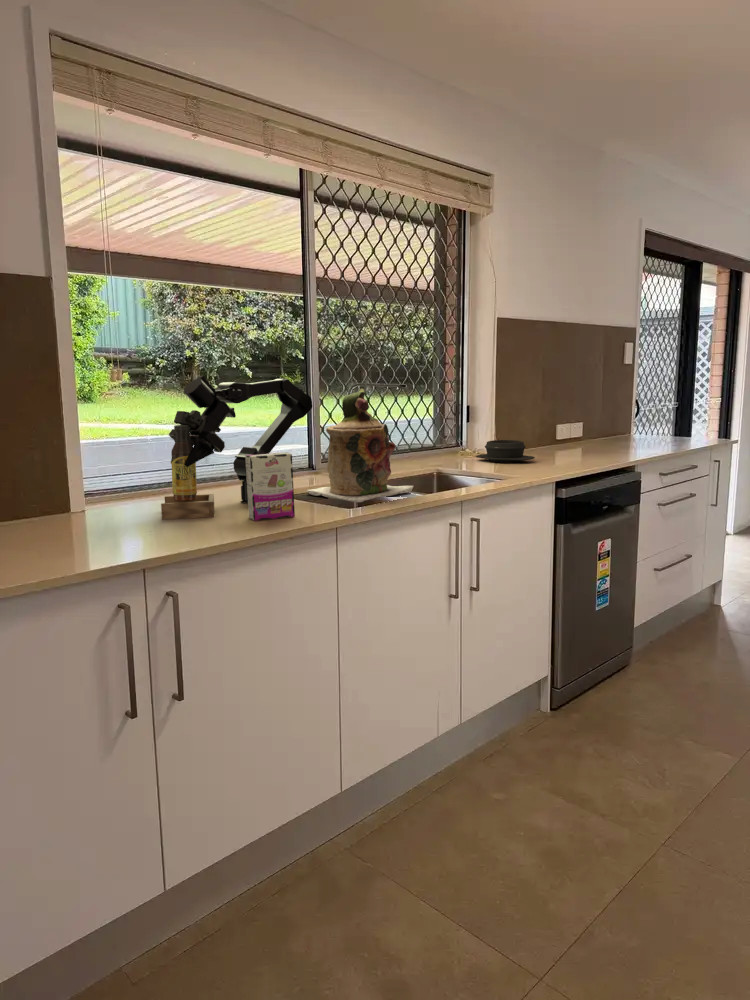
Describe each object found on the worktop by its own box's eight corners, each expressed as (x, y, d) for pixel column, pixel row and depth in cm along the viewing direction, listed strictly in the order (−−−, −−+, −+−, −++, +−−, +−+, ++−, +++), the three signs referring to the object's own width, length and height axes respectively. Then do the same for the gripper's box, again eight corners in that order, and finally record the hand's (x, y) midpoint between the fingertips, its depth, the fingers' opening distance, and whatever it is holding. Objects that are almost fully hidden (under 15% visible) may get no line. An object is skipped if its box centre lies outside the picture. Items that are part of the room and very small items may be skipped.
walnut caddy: (214, 508, 195) (213, 493, 195) (214, 516, 183) (213, 501, 182) (165, 510, 193) (164, 496, 192) (162, 519, 180) (161, 504, 180)
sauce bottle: (176, 503, 183) (170, 426, 179) (170, 499, 188) (164, 425, 185) (201, 500, 186) (195, 425, 182) (195, 497, 191) (189, 423, 188)
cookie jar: (303, 495, 215) (299, 389, 210) (357, 485, 234) (355, 388, 228) (363, 503, 199) (361, 389, 194) (416, 492, 218) (416, 387, 212)
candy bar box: (288, 513, 186) (286, 451, 183) (295, 517, 181) (293, 453, 178) (247, 518, 180) (244, 454, 178) (253, 521, 176) (250, 456, 173)
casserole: (467, 462, 294) (467, 442, 292) (487, 457, 309) (487, 438, 307) (523, 465, 280) (524, 444, 278) (541, 460, 295) (542, 440, 293)
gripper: (172, 399, 191) (138, 443, 186) (211, 399, 179) (177, 447, 173) (199, 425, 199) (167, 469, 193) (239, 428, 186) (206, 475, 180)
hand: (178, 465), depth 184 cm, fingers closed on sauce bottle, 6 cm apart
